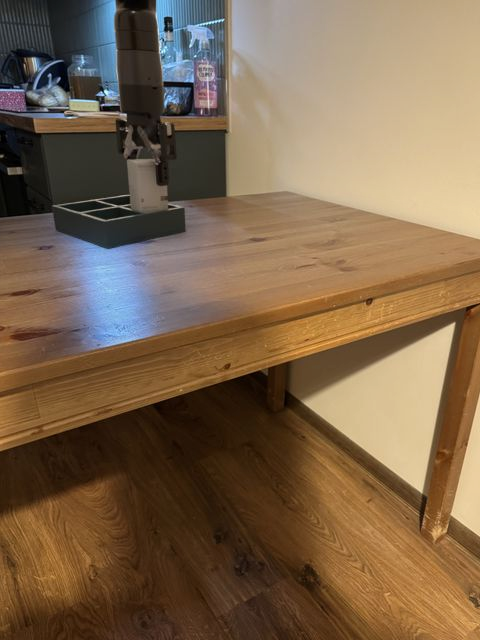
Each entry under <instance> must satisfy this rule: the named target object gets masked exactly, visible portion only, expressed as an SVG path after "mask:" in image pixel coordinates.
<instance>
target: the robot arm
mask: <svg viewBox="0 0 480 640" xmlns="http://www.w3.org/2000/svg"><path fill="white" fill-rule="evenodd" d="M114 2H115V13H114V15H113V30H114V38H115V51H116V52H115V53H116V63H115V64H116V65H115V66H116V77H117V87H118V88H117V89H118V100H119V108H120V109H119V110H120V112H121V113H122V114H125V115H126V118H115V121H114V122H115V123H114V124H115V133H116V146H117V147H116V148H117V152H118V154H119V155H122V156H123V157H124V159H126V161H127V160H134V159H139V156H140V152H141V150H142V149H144V148H145V149H146V151H147V152H148V153H149V154H151V155H152V158H153V159H154V160H155V162H156V163H157V164H155V170H156V184H157V185H158V186H166V185H167V186H168V185H169V182H170V172H169V164H170V163H171V162H172V161H177V158H178V154H177V141H176V129H175V124H174V122H162V118H161V115H163V114H165V112H166V108H165V91H164V76H163V75H164V71H163V65H162V59H161V49H160V35H159V32H160V31H159V23H158V17H157V0H114ZM124 145H125V146H124ZM168 147H169V152H168ZM126 170H127V172H128V167H127V166H126Z"/></svg>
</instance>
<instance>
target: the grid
mask: <svg viewBox="0 0 480 640" xmlns="http://www.w3.org/2000/svg"><path fill="white" fill-rule="evenodd" d="M51 209H52V215H53V221H54V227H55V231H56V232H60V233H62V234H66V235H68V236H70V237H73V238H77V239H80V240H81V241H85V242H88V243H90V244H94V245H97V246H99V247H102V248H105V249H112V248H116V247H117V246H118V247H121V245H122V246H125V245H126V244H127V245H131V244H134V243H139V242H144V241H148V240H153V239H157V238H162V237H167V236H171V235H176V234H180V233H184V232H186V231H187V230H186V229H187V228H186V210H185V206H181V205H176V204H171V203H168V209H166V210H161V211H155V212H149V213H144V212H140V211H137V210H133V209H131V203H130V194H124V195H118V196H110V197H105V198H104V197H103V198H96V199H90V200H82V201H75V202H67V203H62V204H55V205H54V204H53V205H51ZM127 245H126V246H127Z"/></svg>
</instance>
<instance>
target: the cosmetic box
mask: <svg viewBox="0 0 480 640" xmlns="http://www.w3.org/2000/svg"><path fill="white" fill-rule="evenodd" d="M155 164H157V163H156V162H155V160H154V158H138V159H134V160H126V168H127V167H128V171H127V178H128V190H129V195H130V203H131V209H133V210H137V211H140V212H144V213H149V212H155V211H161V210H166V209H168V204H169V200H168V199H169V197H168V196H169V195H168V185H166V186H158V185H157V184H156V170H155Z"/></svg>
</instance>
